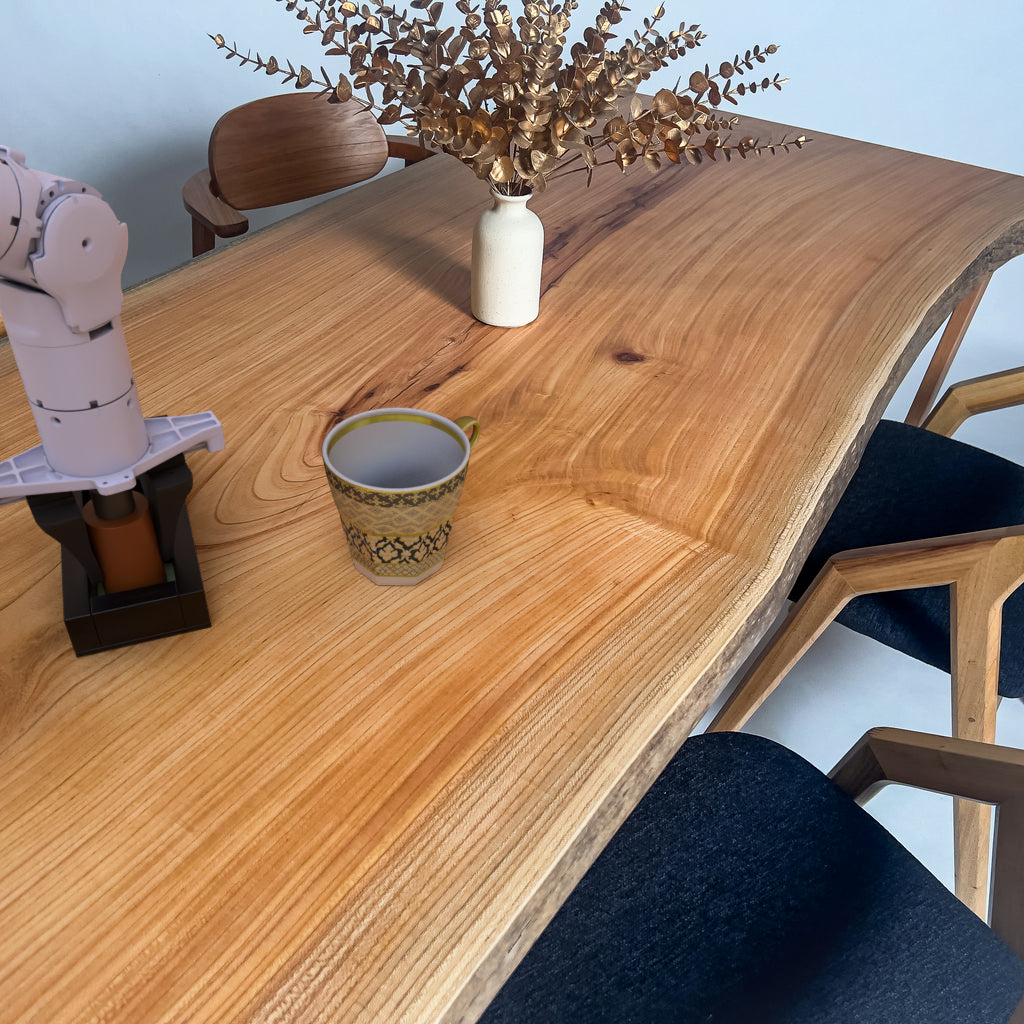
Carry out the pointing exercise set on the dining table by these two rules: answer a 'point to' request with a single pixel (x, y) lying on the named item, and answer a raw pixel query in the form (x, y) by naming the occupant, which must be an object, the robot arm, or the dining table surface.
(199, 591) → the holder
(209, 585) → the dining table surface
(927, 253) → the dining table surface
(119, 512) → the spice bottle
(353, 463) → the ceramic cup
